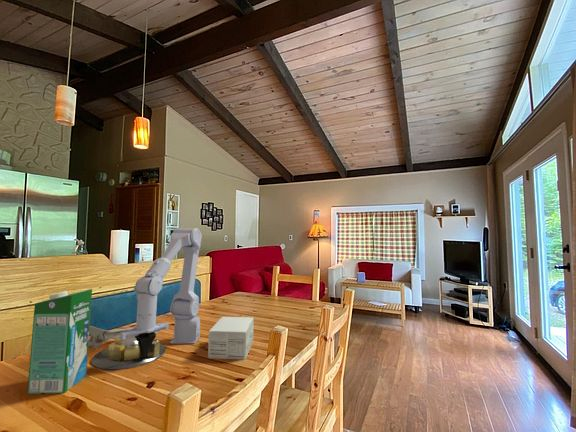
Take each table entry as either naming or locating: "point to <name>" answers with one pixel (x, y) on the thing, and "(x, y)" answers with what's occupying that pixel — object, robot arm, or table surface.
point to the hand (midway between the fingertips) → (144, 356)
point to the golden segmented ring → (130, 351)
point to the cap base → (107, 364)
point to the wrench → (103, 336)
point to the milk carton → (59, 342)
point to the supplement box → (231, 338)
